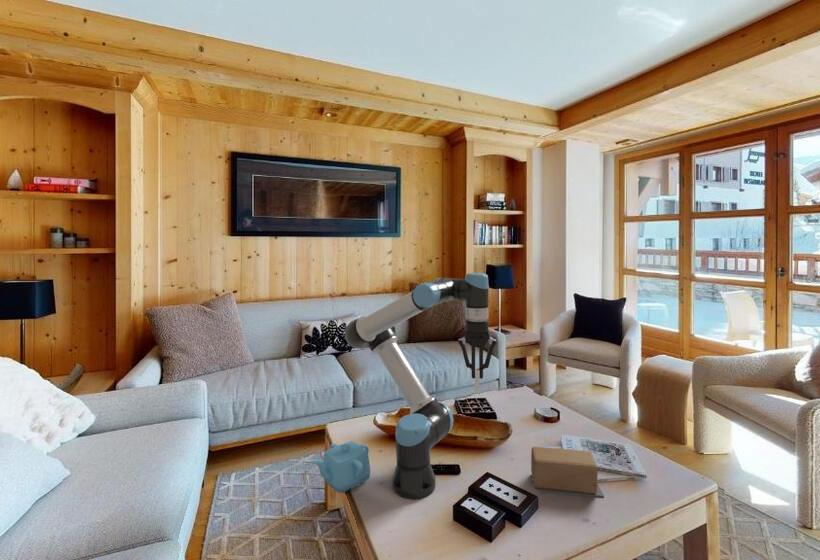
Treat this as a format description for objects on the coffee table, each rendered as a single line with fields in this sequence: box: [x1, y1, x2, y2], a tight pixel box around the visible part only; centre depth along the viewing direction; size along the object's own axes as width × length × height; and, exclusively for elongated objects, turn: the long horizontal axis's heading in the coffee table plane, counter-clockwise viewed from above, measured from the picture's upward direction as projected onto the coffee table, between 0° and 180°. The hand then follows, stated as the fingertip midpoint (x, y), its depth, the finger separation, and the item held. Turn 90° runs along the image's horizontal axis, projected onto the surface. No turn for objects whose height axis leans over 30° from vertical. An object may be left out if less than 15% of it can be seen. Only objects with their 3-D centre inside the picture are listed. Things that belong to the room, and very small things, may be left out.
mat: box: [538, 483, 605, 498], centre depth 135 cm, size 20×15×1 cm
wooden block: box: [530, 446, 599, 494], centre depth 133 cm, size 10×10×20 cm
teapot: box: [311, 440, 371, 494], centre depth 136 cm, size 18×16×14 cm
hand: (477, 387), depth 132 cm, fingers closed
